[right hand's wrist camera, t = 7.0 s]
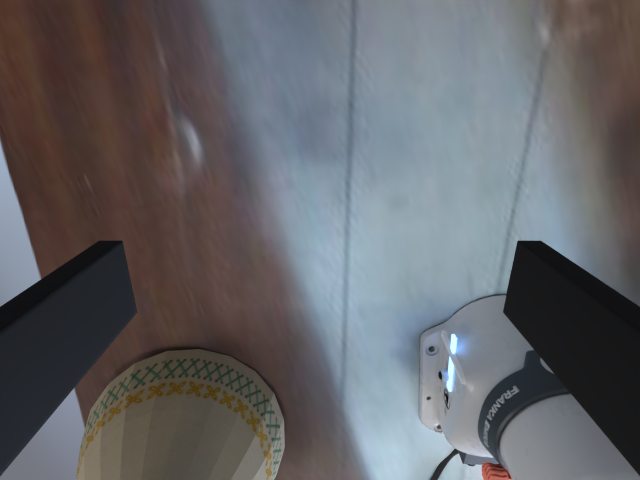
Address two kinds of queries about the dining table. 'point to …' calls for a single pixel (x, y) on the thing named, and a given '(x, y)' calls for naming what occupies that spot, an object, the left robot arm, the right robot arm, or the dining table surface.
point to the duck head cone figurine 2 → (184, 422)
